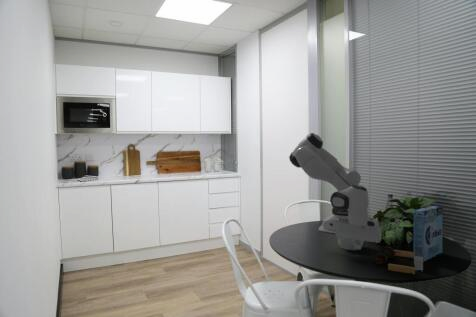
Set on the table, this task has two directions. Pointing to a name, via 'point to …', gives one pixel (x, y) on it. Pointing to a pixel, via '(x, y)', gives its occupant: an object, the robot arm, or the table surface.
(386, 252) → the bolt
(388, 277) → the table surface
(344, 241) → the ramekin
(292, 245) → the table surface
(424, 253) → the light blue carton box
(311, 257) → the table surface
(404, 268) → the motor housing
